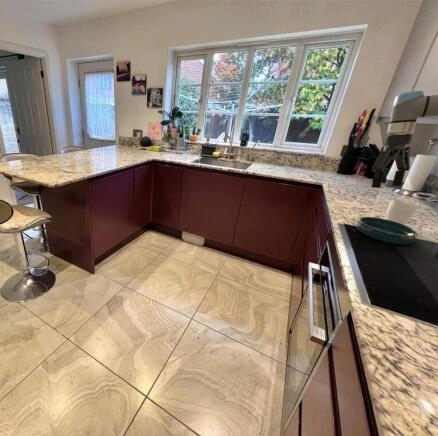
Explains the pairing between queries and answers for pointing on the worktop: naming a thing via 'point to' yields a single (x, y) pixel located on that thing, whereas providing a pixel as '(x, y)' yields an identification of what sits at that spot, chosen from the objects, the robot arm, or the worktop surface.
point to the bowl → (386, 230)
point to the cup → (401, 210)
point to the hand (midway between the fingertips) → (386, 186)
